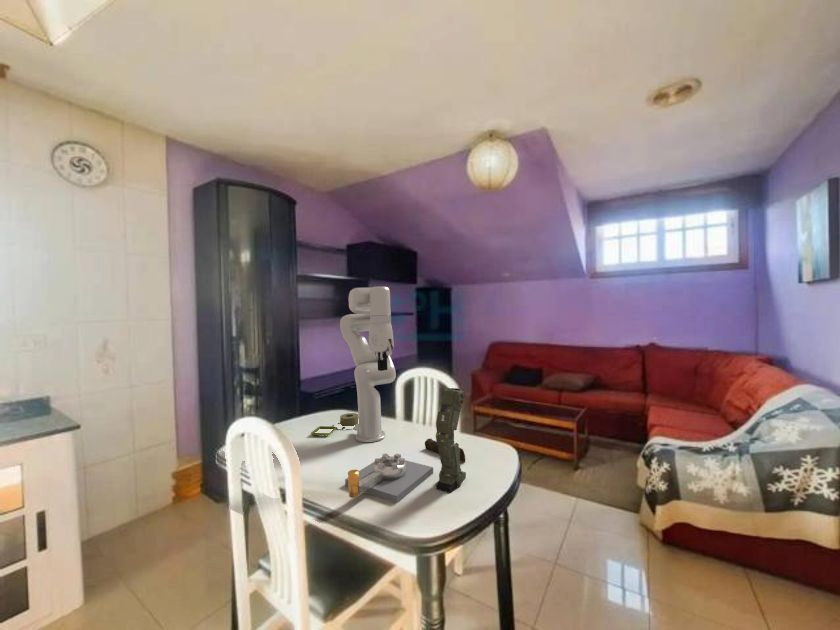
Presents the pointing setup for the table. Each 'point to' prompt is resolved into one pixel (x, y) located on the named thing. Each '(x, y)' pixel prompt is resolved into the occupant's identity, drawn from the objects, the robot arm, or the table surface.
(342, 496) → the table surface
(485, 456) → the table surface
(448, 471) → the mechanical leg
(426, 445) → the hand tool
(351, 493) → the crank handle
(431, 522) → the table surface
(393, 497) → the nut plate
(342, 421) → the flange
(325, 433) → the green rectangular frame
